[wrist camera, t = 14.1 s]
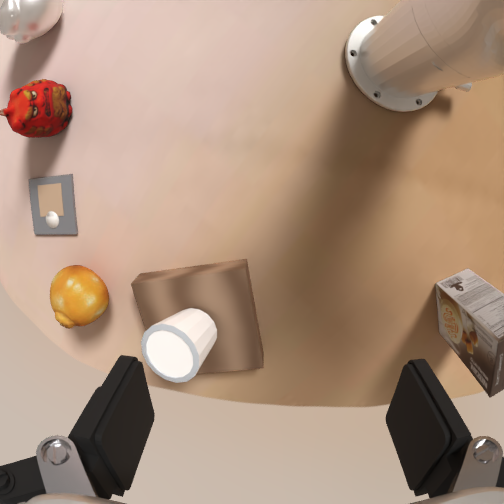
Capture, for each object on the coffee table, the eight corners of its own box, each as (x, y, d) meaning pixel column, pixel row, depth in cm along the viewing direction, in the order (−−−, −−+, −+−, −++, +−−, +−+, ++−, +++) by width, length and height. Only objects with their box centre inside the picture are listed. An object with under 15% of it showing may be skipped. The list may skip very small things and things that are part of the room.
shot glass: (174, 295, 37) (143, 314, 31) (227, 314, 36) (204, 339, 29) (166, 343, 39) (138, 367, 32) (216, 363, 38) (193, 392, 31)
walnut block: (246, 257, 39) (245, 269, 36) (263, 350, 44) (263, 368, 40) (141, 271, 41) (131, 283, 37) (169, 358, 45) (162, 375, 41)
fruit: (100, 319, 43) (75, 349, 35) (61, 283, 41) (31, 307, 33) (127, 283, 40) (101, 311, 33) (83, 244, 39) (51, 264, 31)
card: (72, 174, 36) (70, 174, 35) (78, 233, 38) (76, 234, 38) (30, 179, 36) (28, 179, 36) (36, 233, 39) (34, 234, 38)
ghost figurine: (23, 17, 28) (-17, 2, 18) (71, -17, 27) (35, -42, 17) (28, 59, 31) (-17, 49, 21) (78, 25, 29) (37, 3, 20)
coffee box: (470, 317, 41) (526, 376, 25) (438, 333, 42) (488, 400, 26) (468, 266, 38) (537, 318, 23) (433, 282, 39) (496, 343, 24)
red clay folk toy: (79, 126, 34) (0, 126, 20) (41, 145, 35) (-38, 154, 21) (71, 75, 32) (-5, 56, 18) (33, 96, 32) (-44, 90, 18)
